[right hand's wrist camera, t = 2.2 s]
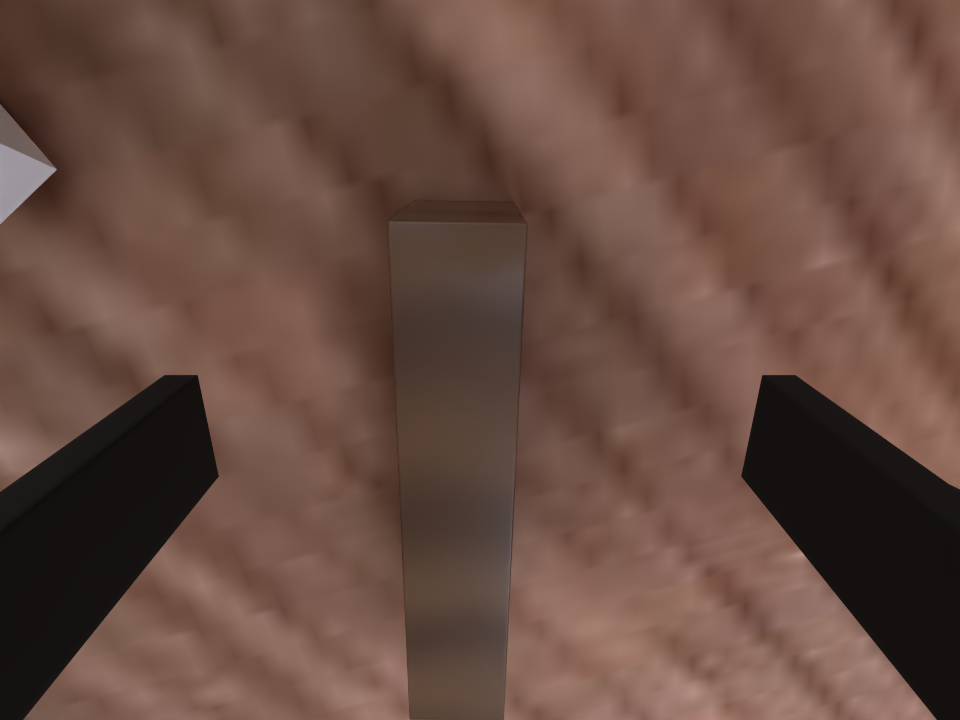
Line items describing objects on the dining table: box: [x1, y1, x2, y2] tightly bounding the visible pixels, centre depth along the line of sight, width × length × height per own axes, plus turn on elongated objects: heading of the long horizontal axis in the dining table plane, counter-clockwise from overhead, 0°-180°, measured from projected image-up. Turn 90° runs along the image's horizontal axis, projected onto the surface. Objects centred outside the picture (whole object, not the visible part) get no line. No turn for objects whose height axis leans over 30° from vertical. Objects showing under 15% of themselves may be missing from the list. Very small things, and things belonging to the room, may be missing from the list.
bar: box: [387, 200, 527, 720], centre depth 27 cm, size 25×5×8 cm, turn 179°
